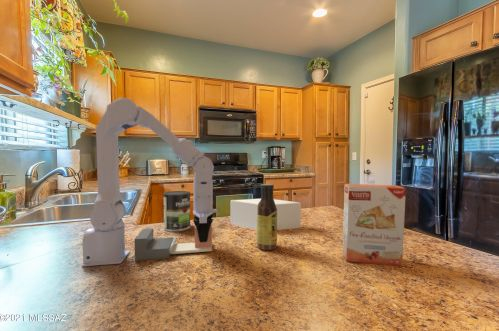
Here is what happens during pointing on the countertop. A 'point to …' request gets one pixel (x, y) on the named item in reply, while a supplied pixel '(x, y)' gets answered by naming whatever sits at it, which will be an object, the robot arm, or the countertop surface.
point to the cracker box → (374, 223)
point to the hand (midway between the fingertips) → (203, 239)
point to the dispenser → (152, 246)
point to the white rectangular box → (247, 213)
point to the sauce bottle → (267, 219)
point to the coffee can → (176, 211)
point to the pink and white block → (194, 245)
